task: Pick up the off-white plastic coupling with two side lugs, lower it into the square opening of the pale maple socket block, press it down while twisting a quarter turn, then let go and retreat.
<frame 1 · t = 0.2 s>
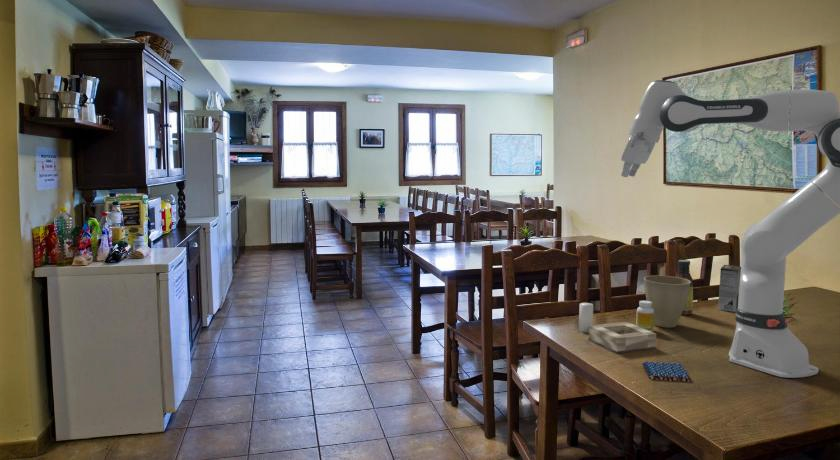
hand: (627, 176, 183), 52 cm above the table, tool tilted 20°, fingers open, 8 cm apart
coupling: (585, 330, 198), on the table
socket block: (621, 344, 184), on the table
woven mat: (665, 376, 159), on the table
sauce bottle: (682, 313, 220), on the table
coffee box: (728, 309, 227), on the table
supplement bottle: (644, 330, 199), on the table
plant pot: (664, 325, 205), on the table
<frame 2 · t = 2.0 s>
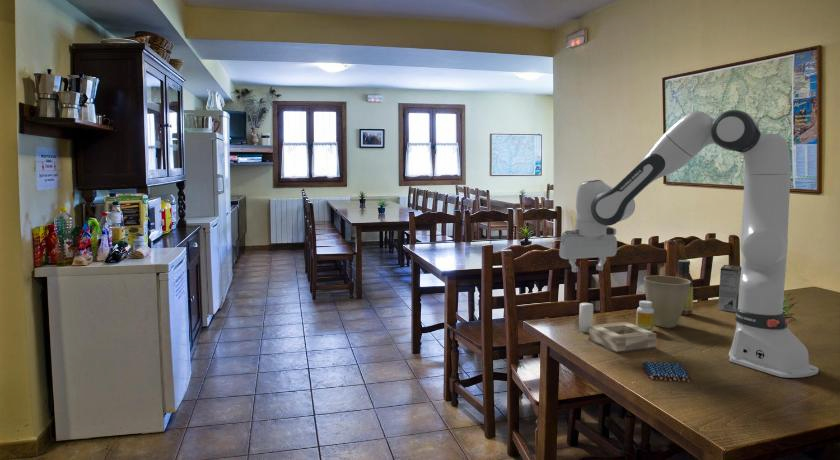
hand: (587, 271, 196), 20 cm above the table, tool pointing down, fingers open, 8 cm apart
nothing on the table moved.
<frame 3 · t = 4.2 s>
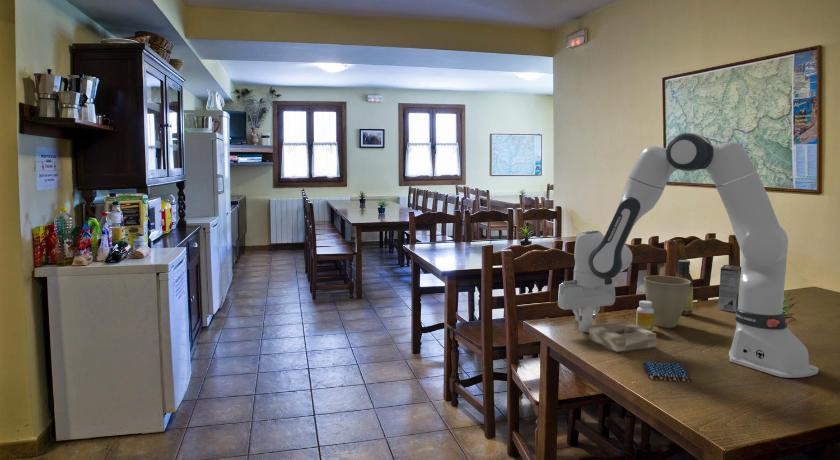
hand: (585, 320, 198), 4 cm above the table, tool pointing down, fingers closed on coupling, 4 cm apart
coupling: (585, 330, 198), on the table, touching gripper
everything else where it was.
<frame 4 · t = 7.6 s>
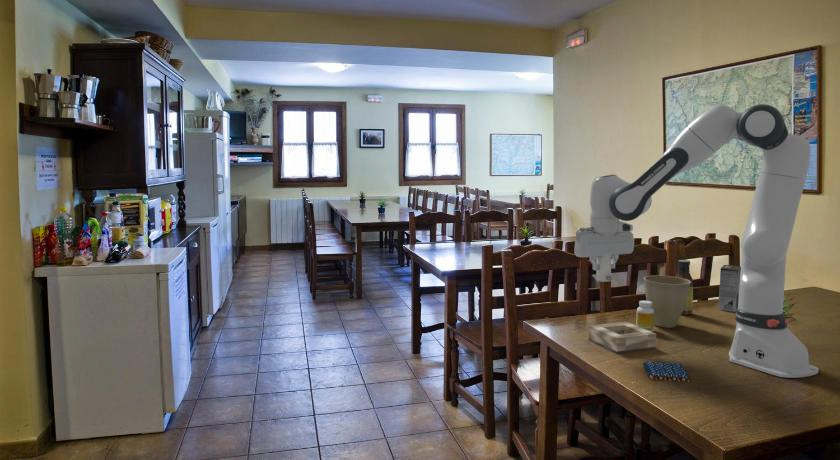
hand: (603, 269, 189), 22 cm above the table, tool pointing down, fingers closed on coupling, 4 cm apart
coupling: (603, 280, 190), point 18 cm above the table, touching gripper
everything else where it was.
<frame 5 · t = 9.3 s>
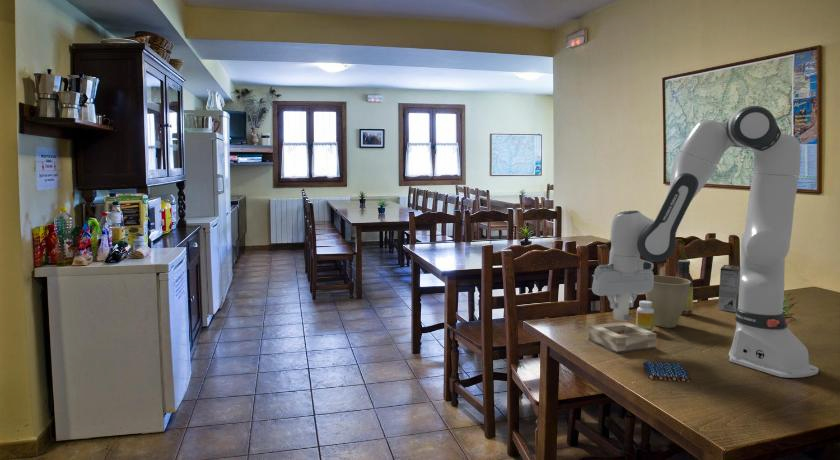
hand: (621, 307, 182), 12 cm above the table, tool pointing down, fingers closed on coupling, 4 cm apart
coupling: (620, 318, 183), point 8 cm above the table, touching gripper
everything else where it was.
when the fingers open (5 cm above the table, at t = 11.1 s): coupling stays where it is, resting on socket block.
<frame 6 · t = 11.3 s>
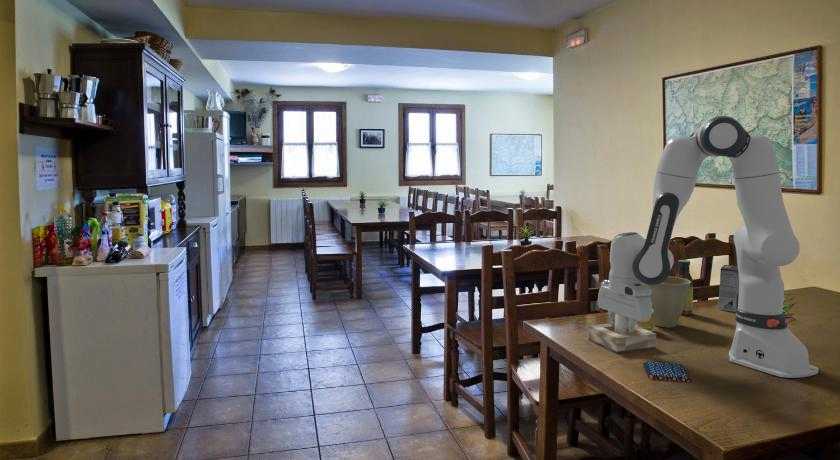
hand: (622, 328, 183), 5 cm above the table, tool pointing down, fingers open, 6 cm apart
coupling: (621, 342, 184), point 1 cm above the table, touching socket block
everything else where it was.
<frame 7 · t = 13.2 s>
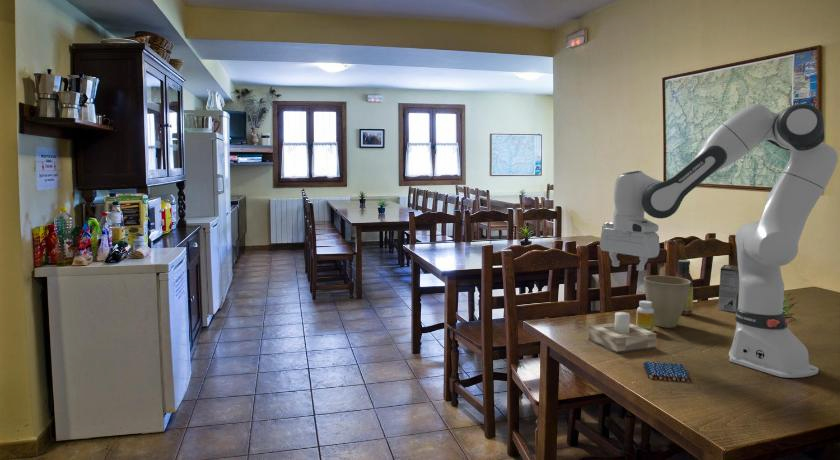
hand: (627, 268, 184), 23 cm above the table, tool pointing down, fingers open, 8 cm apart
nothing on the table moved.
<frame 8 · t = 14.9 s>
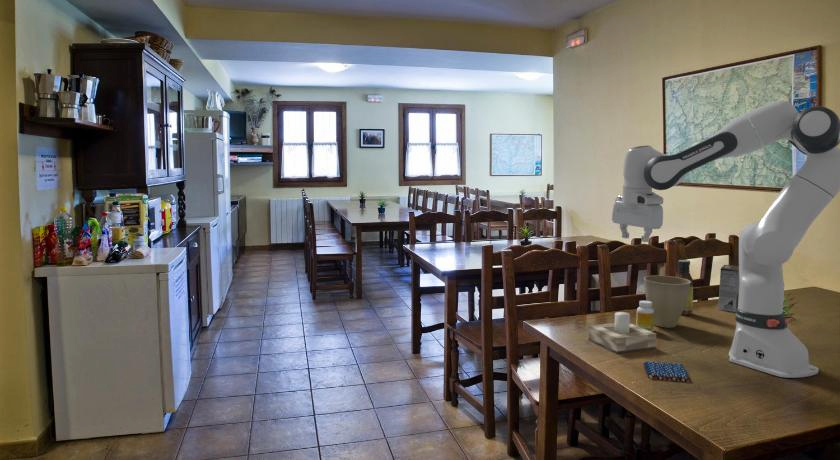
hand: (635, 240, 191), 31 cm above the table, tool pointing down, fingers open, 8 cm apart
nothing on the table moved.
at the end: coupling 0.1 cm from the socket block (horizontally); coupling point 0.6 cm above the table; coupling tilted 0° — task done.
